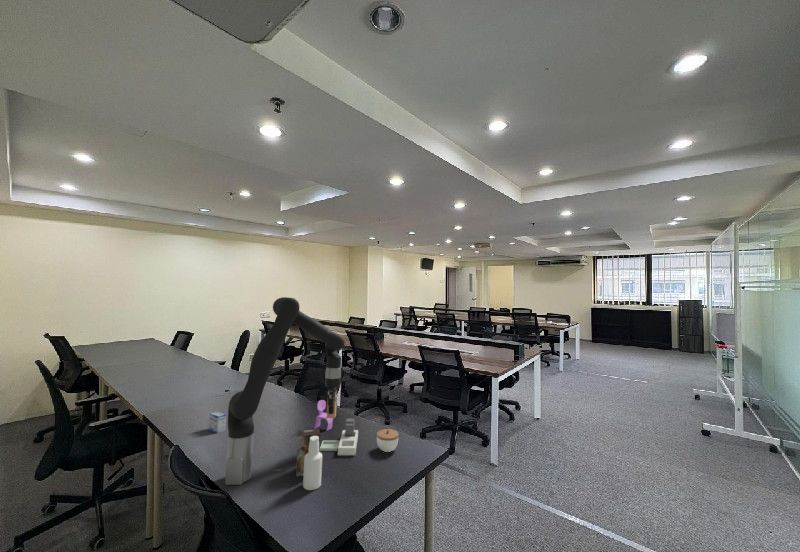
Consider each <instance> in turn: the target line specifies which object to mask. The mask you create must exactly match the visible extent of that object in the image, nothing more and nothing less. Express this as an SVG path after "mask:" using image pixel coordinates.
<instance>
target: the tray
mask: <svg viewBox="0 0 800 552" xmlns="http://www.w3.org/2000/svg"><path fill="white" fill-rule="evenodd" d="M339 443H340V440H332V439H331V440H322V441H321V444H320V452H338V446H339Z"/></svg>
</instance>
